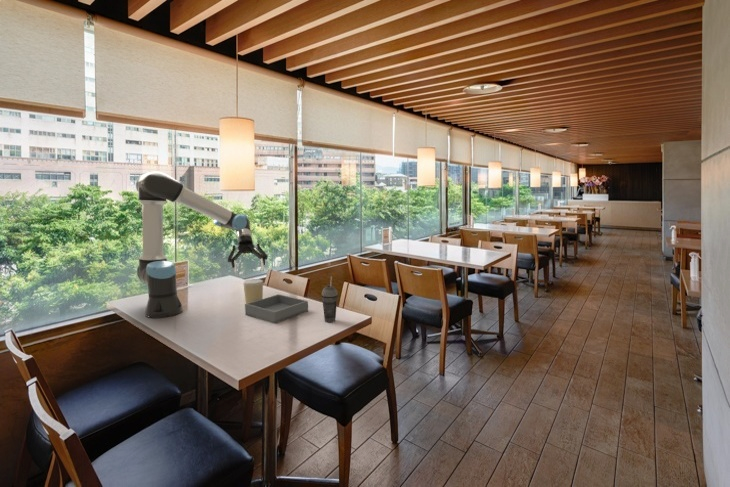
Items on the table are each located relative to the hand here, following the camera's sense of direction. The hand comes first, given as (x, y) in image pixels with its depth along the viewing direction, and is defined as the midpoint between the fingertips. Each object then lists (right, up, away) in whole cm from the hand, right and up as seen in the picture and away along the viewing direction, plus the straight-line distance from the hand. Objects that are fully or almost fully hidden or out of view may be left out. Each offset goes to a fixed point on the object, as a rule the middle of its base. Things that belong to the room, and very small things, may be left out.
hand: (249, 271), depth 194 cm
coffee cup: (+4, -16, -8) cm, 19 cm away
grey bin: (+19, -18, -20) cm, 33 cm away
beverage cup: (+44, -20, -31) cm, 57 cm away
